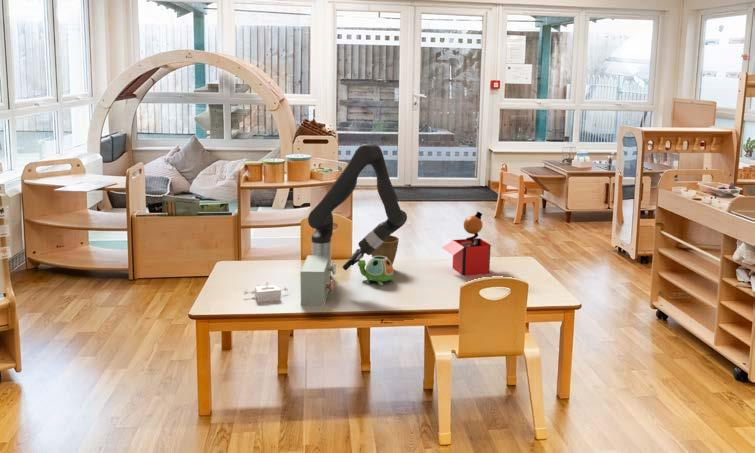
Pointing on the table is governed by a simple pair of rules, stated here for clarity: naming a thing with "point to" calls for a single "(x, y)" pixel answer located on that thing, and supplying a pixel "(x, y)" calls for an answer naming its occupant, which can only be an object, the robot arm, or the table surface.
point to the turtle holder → (377, 269)
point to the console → (315, 280)
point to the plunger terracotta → (330, 286)
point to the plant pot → (387, 248)
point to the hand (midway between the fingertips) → (344, 268)
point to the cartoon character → (267, 292)
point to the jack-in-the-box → (470, 250)
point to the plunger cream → (332, 268)
